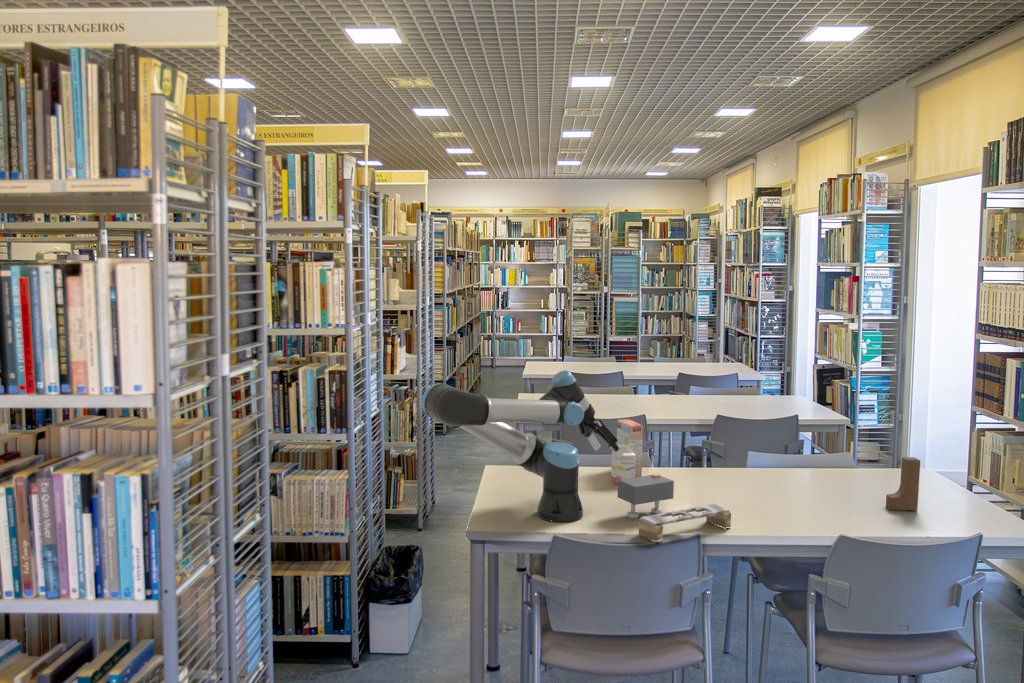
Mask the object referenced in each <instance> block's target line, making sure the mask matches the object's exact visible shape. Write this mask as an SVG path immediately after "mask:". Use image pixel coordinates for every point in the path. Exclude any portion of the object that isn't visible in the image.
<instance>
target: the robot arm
mask: <svg viewBox="0 0 1024 683" xmlns="http://www.w3.org/2000/svg"><path fill="white" fill-rule="evenodd" d="M551 385H552V387H551V388H550V389H549V390H548V391H547V392H545V394H543V396H541V397H540V398H539V399H520V398H518V399H517V398H496V397H495V398H494V397H492V398H491V397H488V396H487V395H485V394H479V393H478V394H477V393H471V392H468V391H465V390H462V389H460V388H458V387H454V386H452V385H449V384H447V383H444V382H442V383H439V382H438V383H434V384H431V385H429V387H427V388H426V390H425V391H424V392H423V393H422V397H421V408H422V410H423V412H424V413H425V414H426V415H427V417H428V418H430V419H434V420H436V421H438V422H440V423H441V424H444V425H445V426H447V427H448V428H451V429H452V430H458V429H462V430H464V431H465V432H468V433H470V434H471V435H473V436H475V437H477V438H479V439H480V440H482V441H483V442H486V443H487V444H489V445H491V446H493V447H494V448H497V450H500V451H502V452H504V453H506V454H508V456H509V455H510V456H511V457H512V461H513V462H514V463H515V464H516V465H518V466H519V467H521V468H523V469H524V470H525V471H527V472H530V473H532V474H535V475H536V476H539V477H541V478H543V479H542V480H543V481H542V494H541V497H540V499H539V503H538V505H537V513H536V514H537V516H538V517H539V518H540V517H541V518H540V519H542V518H543V520H544V519H547V520H546V521H548V520H552V521H551V522H554V521H562V522H561V523H565V522H564V521H571V522H574V521H575V520H576V521H579V520H581V519H582V518H583V516H584V510H583V505H582V502H581V499H580V496H579V467H580V466H579V465H580V464H579V463H580V458H579V450H578V449H577V448H576V446H574V445H572V444H570V443H568V442H567V443H566V442H565V443H564V442H559V441H552V442H547V441H546V440H544V439H542V438H540V437H539V436H537V435H535V434H533V433H531V432H528V433H523V432H521V431H519V430H518V429H516V428H515V427H513V426H512V425H509V424H508V423H510V424H511V423H513V424H514V423H515V424H516V423H518V424H519V423H520V424H521V423H522V424H523V423H524V424H529V423H530V424H564V425H565V424H566V425H568V426H573V427H574V426H578V428H579V432H580V434H581V435H584V437H585V438H586V439H587V441H588V442H589V443H590V445H591V446H592V448H593V449H594V450H593V451H595V452H597V451H598V450H599V449H600V448H601V447H602V445H601V444H600V442H599V440H598V439H597V437H596V436H595V434H598V436H600V437H601V438H602V439H603V441H605V442H606V443H607V444H608V448H610V451H612V452H613V454H614V455H615V457H616V458H617V459H619V458H620V457H621V456H622V455H623V453H622V452H621V450H620V448H619V447H618V445H617V441H618V440H617V436H615V435H614V434H613V433H612V432H611V431H610V430H609V428H608V427H607V426H606V425H605V424H604V421H602V420H601V419H597V418H596V417H595V414H596V410H595V408H594V407H593V406H592V404H591V403H590V401H589V399H588V398H587V394H586V393H584V391H583V390H582V388H581V385H580V384H579V383H578V381H577V379H576V378H575V376H574V374H572V373H571V372H570V371H569V370H560V371H559V372H557V373H555V374H554V376H553V377H552V378H551ZM612 452H611V453H612ZM580 518H581V519H580ZM576 521H575V522H576Z"/></svg>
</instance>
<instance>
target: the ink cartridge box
mask: <svg viewBox="0 0 1024 683" xmlns="http://www.w3.org/2000/svg"><path fill="white" fill-rule="evenodd" d="M618 447H619V448H620V447H626V448H627V449H620V450H621V452H622V453H623V455H622V456H621V457H620V458H619V459H617V458H616V457H615V455H614V454H613V452H611V472H610V482H611V483H612V485H613V484H618V480H620V479H626V478H633V477H635V461H636V455H635V454H634V453H633V445H620V444H619V445H618Z"/></svg>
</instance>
